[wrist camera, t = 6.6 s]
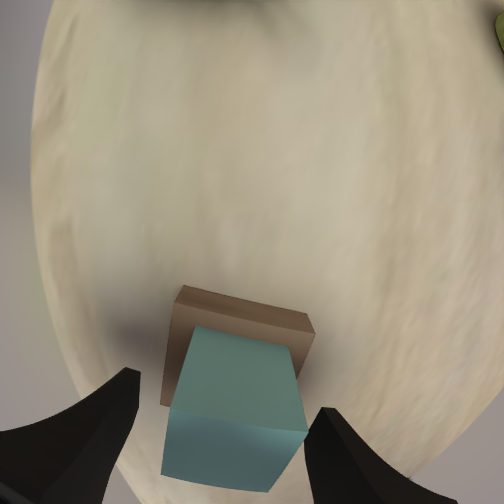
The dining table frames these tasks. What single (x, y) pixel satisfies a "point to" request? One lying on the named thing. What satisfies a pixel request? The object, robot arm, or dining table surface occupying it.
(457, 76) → the dining table surface
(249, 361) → the teal brick
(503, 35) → the plant pot
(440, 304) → the dining table surface
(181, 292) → the base brick
